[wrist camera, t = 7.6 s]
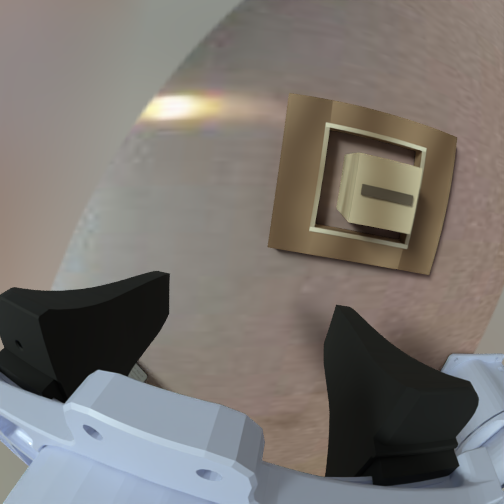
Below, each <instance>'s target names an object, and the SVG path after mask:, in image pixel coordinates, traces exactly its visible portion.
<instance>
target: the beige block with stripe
mask: <svg viewBox="0 0 504 504" xmlns="http://www.w3.org/2000/svg"><path fill="white" fill-rule="evenodd" d="M421 176H422V168H419V167H415V166H412V165H408V164H404V163H401V162H397V161H393V160H389V159H385V158H381V157H377V156H373V155H368V154H364V153H354V154H347V155H345V157H344V164H343V171H342V177H341V184H340V190H339V196H338V202H337V208H336V209H337V210H338V211H339V212H340V213H341V214H342V215H343V217H344V218H345V219H346V220H347V221H348V222H350V223H355V224H361V225H366V226H371V227H376V228H381V229H386V230H391V231H396V232H401V233H406V234H410V232H411V228H412V223H413V219H414V214H415V209H416V204H417V199H418V194H419V188H420V182H421Z"/></svg>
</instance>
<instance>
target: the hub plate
mask: <svg viewBox="0 0 504 504" xmlns="http://www.w3.org/2000/svg"><path fill="white" fill-rule="evenodd" d="M330 130H332V131H337V132H342V133H347V134H352V135H356V136H360V137H365V138H369V139H373V140H377V141H381V142H385V143H388V144H392V145H396V146H399V147H403V148H406V149H409V150H413V151H416V154H415V161H414V166H415V167H419V168H422V176H421V182H420V188H419V194H418V199H417V204H416V209H415V214H414V219H413V223H412V228H411V232H410V234H406V233H401V234H400V238H399V240H397V239H392V238H387V237H382V236H377V235H372V234H367V233H362V232H357V231H352V230H346V229H341V228H335V227H330V226H324V225H319V224H315V220H316V215H317V209H318V203H319V197H320V191H321V185H322V179H323V173H324V166H325V159H326V152H327V145H328V138H329V131H330ZM456 143H457V137H455V136H453V135H450V134H447V133H445V132H442V131H440V130H437V129H434V128H432V127H429V126H426V125H423V124H420V123H417V122H414V121H411V120H408V119H405V118H401V117H398V116H395V115H391V114H388V113H384V112H381V111H377V110H373V109H369V108H365V107H361V106H357V105H352V104H348V103H343V102H339V101H334V100H328V99H323V98H317V97H312V96H305V95H299V94H292V93H289V98H288V105H287V113H286V121H285V128H284V136H283V143H282V150H281V158H280V165H279V172H278V179H277V186H276V193H275V200H274V207H273V214H272V220H271V227H270V234H269V241H268V247H269V248H275V249H281V250H287V251H293V252H299V253H305V254H311V255H317V256H323V257H329V258H334V259H340V260H346V261H352V262H358V263H364V264H369V265H375V266H381V267H387V268H392V269H398V270H404V271H409V272H415V273H421V274H426V275H429V273H430V270H431V267H432V263H433V260H434V257H435V253H436V250H437V246H438V242H439V238H440V234H441V230H442V226H443V222H444V218H445V213H446V208H447V203H448V198H449V193H450V187H451V181H452V175H453V168H454V161H455V153H456Z"/></svg>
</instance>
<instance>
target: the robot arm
mask: <svg viewBox="0 0 504 504" xmlns="http://www.w3.org/2000/svg"><path fill="white" fill-rule="evenodd" d="M169 278H170V274H169V273H164V272H160V271H153V272H149V273H145V274H141V275H138V276H135V277H131V278H128V279H125V280H121V281H118V282H114V283H110V284H106V285H102V286H97V287H92V288H86V289H78V290H65V291H41V290H29V289H22V288H16V287H14V288H11V289H9V290H7V291H5V292H4V293H2V294H1V295H0V337H1V340H2V343H3V345H4V347H5V348H4V349H2V350H1V351H0V440H1V442H3V443H4V444H5V445H6V446H7V447H8V448H9V449H10V450H11V451H12V452H13V453H14V454H16V456H18V457H19V458H20V459H21V460H22V461H23V462H24V463H26V464H27V465H28V466H29V467H28V469H27V470H26V471H25V473H24V474H23V475H22V477H21V478H20V480H19V481H18V483H17V484H16V485H15V487H14V488H13V489H12V491H11V492H10V494H9V495H8V497H7V498H6V499H5V501H4V502H3V504H504V491H502V488H503V487H504V366H503V364H502V363H501V362H502V360H503V358H504V355H503V354H451V355H450V356H449V357H448V359H447V361H446V363H445V365H444V366H443V368H442V370H441V372H440V371H438V370H435V369H433V368H431V367H429V366H427V365H425V364H423V363H421V362H419V361H417V360H415V359H414V358H412V357H410V356H409V355H407V354H405V353H404V352H403V351H401V350H400V349H398V348H397V347H395V346H394V345H393V344H391V343H390V342H389V341H388V340H386V339H385V338H384V337H383V336H382V335H380V334H379V333H378V332H377V331H376V330H375V329H374V328H373V327H372V326H370V325H369V324H368V323H367V322H366V321H365V320H364V319H363V318H362V317H361V316H360V315H359V314H358V313H357V312H356V311H355V310H353V309H352V308H351V307H347V306H341V305H336V307H335V311H334V314H333V317H332V321H331V324H330V327H329V330H328V333H327V336H326V339H325V342H324V369H325V376H326V384H327V391H328V399H329V411H330V418H329V443H328V456H327V465H326V473H325V477H321V476H317V475H312V474H308V473H304V472H300V471H296V470H292V469H289V468H285V467H282V466H278V465H275V464H272V463H268V462H265V461H262V457H263V450H264V444H265V441H264V435H263V430H262V428H261V427H260V426H259V425H257V424H256V423H255V422H254V421H253V420H252V419H250V418H249V417H248V416H247V415H246V414H244V413H242V412H239V411H237V410H234V409H231V408H229V407H226V406H224V405H221V404H217V403H213V402H208V401H204V400H200V399H197V398H193V397H189V396H186V395H182V394H179V393H175V392H172V391H168V390H165V389H162V388H159V387H156V386H153V385H150V384H147V383H144V382H141V381H138V380H135V379H132V378H130V377H128V375H129V373H130V372H131V370H132V368H133V367H134V365H135V364H136V362H137V361H138V360H139V358H140V357H141V356H142V354H143V353H144V352H145V350H146V349H147V348H148V346H149V345H150V344H151V342H152V341H153V340H154V338H155V337H156V336H157V334H158V333H159V332H160V330H161V328H162V326H163V325H164V323H165V321H166V319H167V317H168V315H169ZM455 358H456V359H455Z"/></svg>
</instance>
